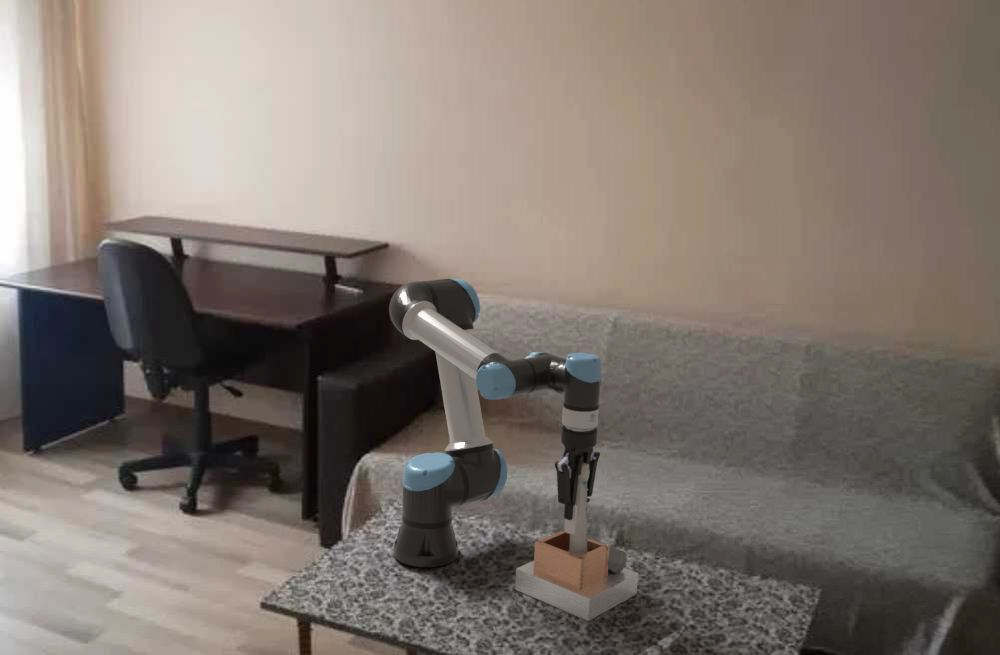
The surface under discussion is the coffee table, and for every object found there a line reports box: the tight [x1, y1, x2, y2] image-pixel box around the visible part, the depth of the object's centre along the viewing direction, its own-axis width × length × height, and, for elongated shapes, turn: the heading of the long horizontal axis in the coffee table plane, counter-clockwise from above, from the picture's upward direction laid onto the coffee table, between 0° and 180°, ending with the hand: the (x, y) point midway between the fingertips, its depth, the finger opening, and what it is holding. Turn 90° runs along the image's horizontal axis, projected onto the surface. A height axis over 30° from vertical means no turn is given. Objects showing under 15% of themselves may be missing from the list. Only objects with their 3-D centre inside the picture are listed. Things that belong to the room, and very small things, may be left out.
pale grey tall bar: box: [561, 456, 590, 556], centre depth 221 cm, size 5×7×25 cm
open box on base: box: [514, 529, 639, 622], centre depth 225 cm, size 20×18×12 cm
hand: (573, 530), depth 222 cm, fingers closed on pale grey tall bar, 2 cm apart
